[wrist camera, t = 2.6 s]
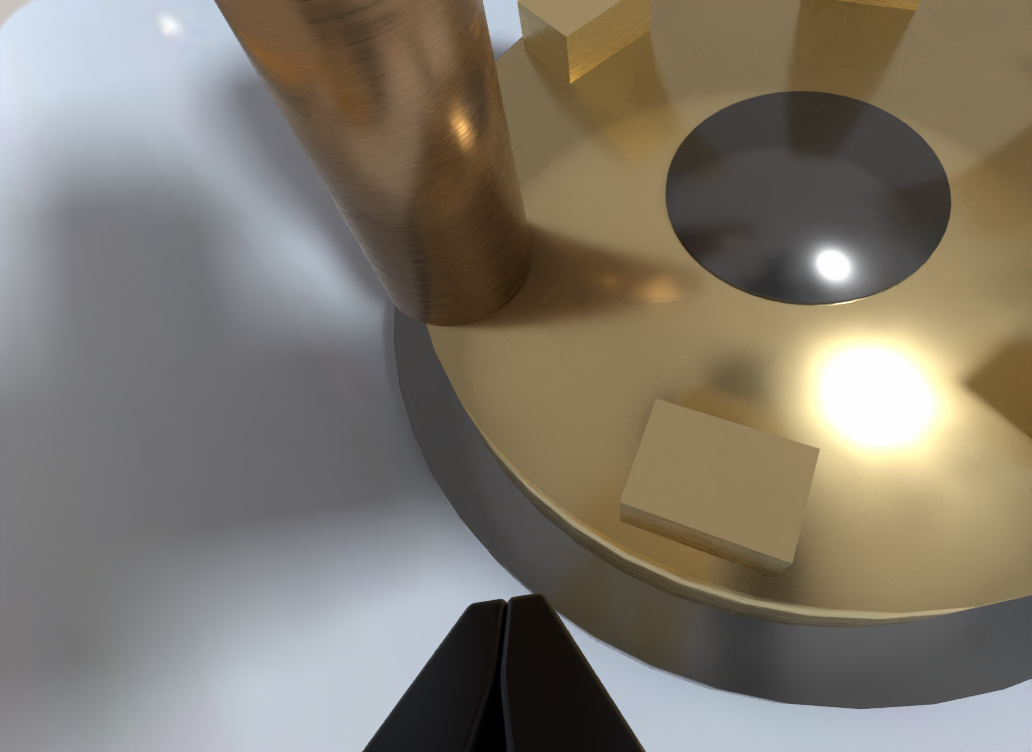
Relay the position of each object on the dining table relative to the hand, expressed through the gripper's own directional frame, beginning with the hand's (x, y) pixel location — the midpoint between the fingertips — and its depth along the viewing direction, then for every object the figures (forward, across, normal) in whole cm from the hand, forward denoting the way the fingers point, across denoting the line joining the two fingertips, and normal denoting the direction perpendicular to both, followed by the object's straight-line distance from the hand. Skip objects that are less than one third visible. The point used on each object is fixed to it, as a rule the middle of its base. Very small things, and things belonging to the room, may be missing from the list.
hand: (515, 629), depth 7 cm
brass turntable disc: (+12, -7, -1) cm, 14 cm away
